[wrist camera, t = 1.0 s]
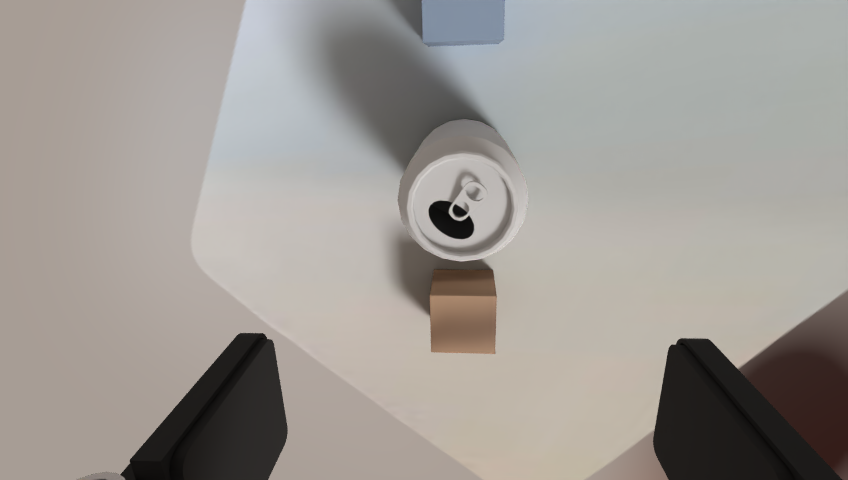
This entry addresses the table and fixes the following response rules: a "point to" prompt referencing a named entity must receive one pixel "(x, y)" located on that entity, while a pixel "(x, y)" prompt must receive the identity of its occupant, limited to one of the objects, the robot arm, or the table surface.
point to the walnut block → (463, 311)
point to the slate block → (462, 22)
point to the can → (463, 192)
